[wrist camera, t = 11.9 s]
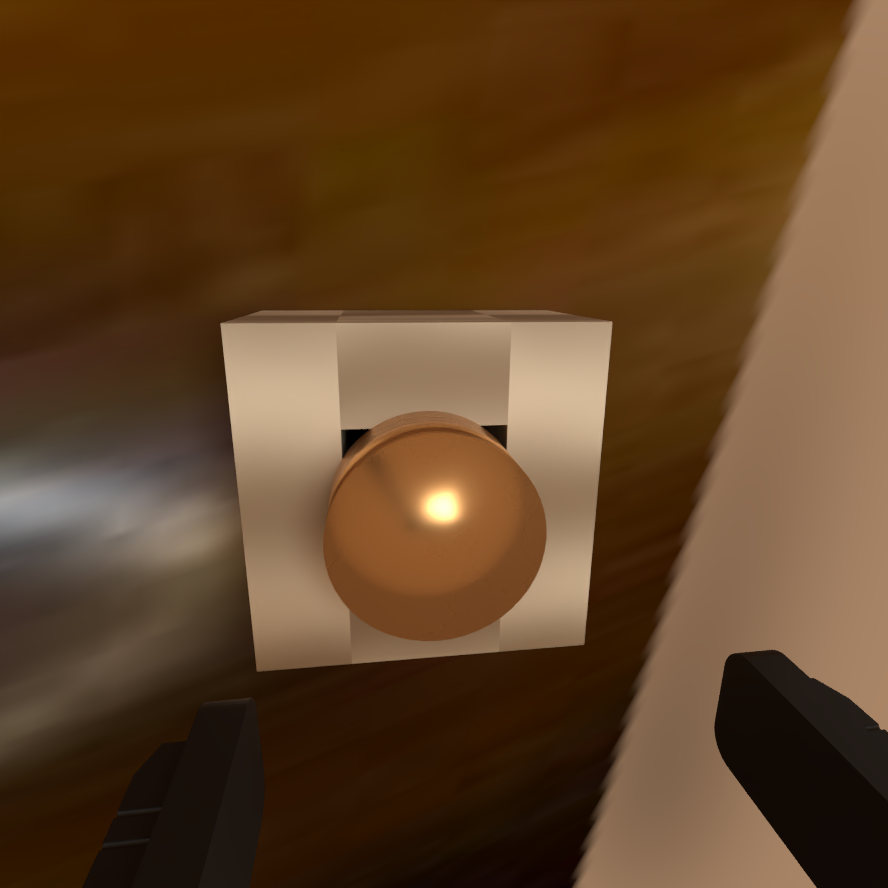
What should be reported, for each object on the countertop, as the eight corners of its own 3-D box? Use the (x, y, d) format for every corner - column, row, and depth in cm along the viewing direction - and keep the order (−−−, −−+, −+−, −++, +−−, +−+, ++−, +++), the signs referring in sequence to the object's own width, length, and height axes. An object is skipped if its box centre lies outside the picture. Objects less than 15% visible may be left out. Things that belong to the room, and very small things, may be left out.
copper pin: (334, 377, 24) (316, 439, 15) (483, 375, 25) (553, 432, 16) (341, 517, 26) (328, 649, 16) (479, 510, 26) (540, 632, 17)
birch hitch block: (262, 310, 23) (220, 323, 16) (545, 310, 25) (612, 321, 18) (284, 572, 26) (257, 671, 20) (531, 557, 28) (583, 644, 21)
